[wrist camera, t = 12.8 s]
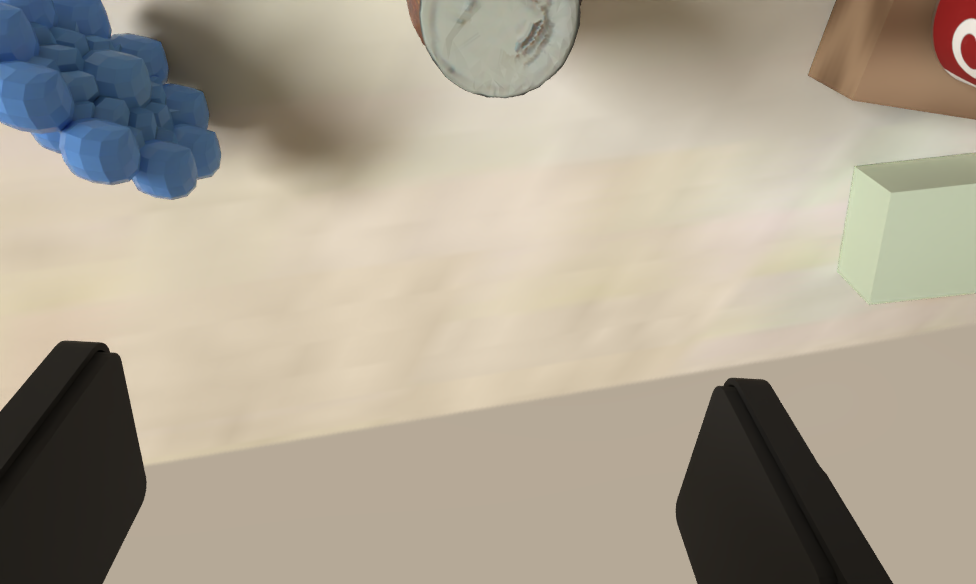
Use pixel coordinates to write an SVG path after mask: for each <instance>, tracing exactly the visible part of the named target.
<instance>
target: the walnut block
mask: <svg viewBox="0 0 976 584" xmlns="http://www.w3.org/2000/svg"><path fill="white" fill-rule="evenodd" d="M936 3H937V0H836V2H835V5H834V7H833V10H832V13H831V15H830V18H829V21H828V23H827V26H826V29H825V31H824V34H823V37H822V39H821V42H820V45H819V47H818V50H817V53H816V55H815V58H814V61H813V63H812V66H811V68H810V71H809V74H808V76H810V77H812V78H814V79H815V80H817V81H819V82H821V83H822V84H824V85H826V86H828V87H830V88H831V89H833V90H835V91H837V92H839V93H840V94H842V95H844V96H846V97H847V98H849V99H851V100H854V101H860V102H866V103H873V104H879V105H886V106H892V107H898V108H905V109H911V110H918V111H924V112H930V113H937V114H943V115H950V116H956V117H962V118H969V119H975V120H976V87H973V86H971V85H968V84H966V83H963V82H961V81H959V80H957V79H955V78H953V77H952V76H950V75H949V74H948V73H947V72H946V71H945V70H944V69H943V68H942V67H941V66H940V64H939V62H938V61H937V59H936V57H935V54H934V51H933V48H932V43H931V23H932V17H933V12H934V9H935V5H936Z"/></svg>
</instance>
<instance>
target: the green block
mask: <svg viewBox="0 0 976 584" xmlns="http://www.w3.org/2000/svg"><path fill="white" fill-rule="evenodd" d="M837 272H838V273H839V274H840V275H841V276H842V277H843V278H844V279H845V280H846V281H847V282H848V283H849V285H850V286H851V287H852V288H853V289H854V290H855V291H856V292H857V293H858V294H859V295H860V296H861V297H862V298H863V299H864V300H865V301H866V302H867V303H868V304H869V305H873V304H882V303H892V302H901V301H910V300H920V299H929V298H938V297H947V296H957V295H966V294H975V293H976V153H969V154H960V155H951V156H943V157H934V158H925V159H916V160H907V161H898V162H889V163H880V164H871V165H863V166H855V168H854V174H853V180H852V186H851V192H850V198H849V204H848V210H847V216H846V222H845V228H844V234H843V240H842V246H841V252H840V258H839V264H838V270H837Z"/></svg>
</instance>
